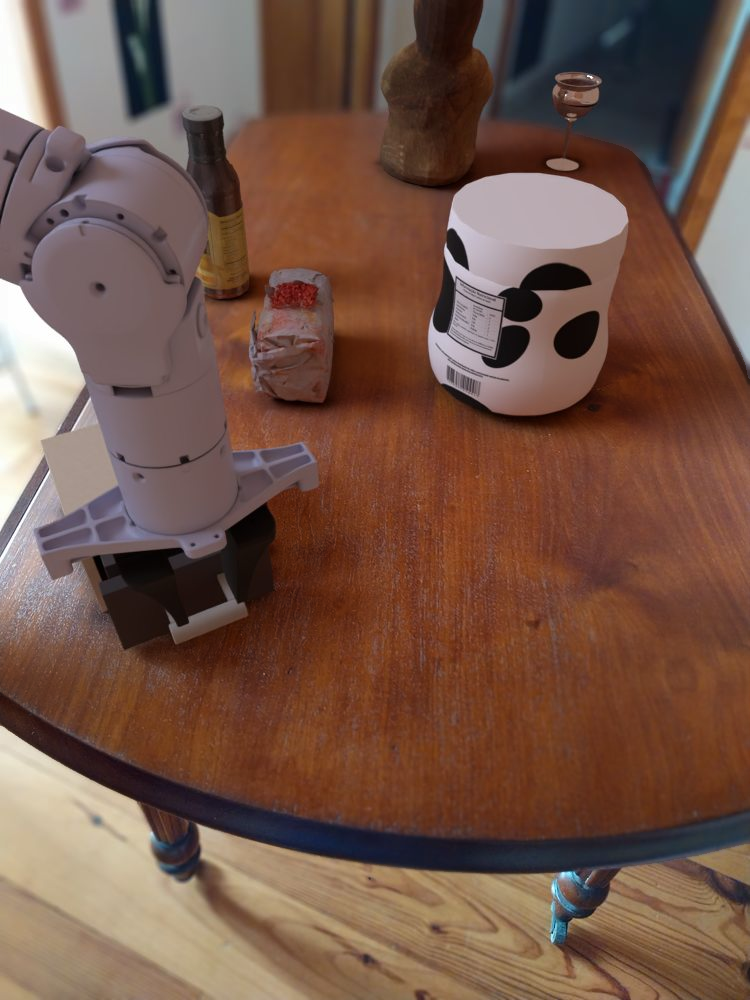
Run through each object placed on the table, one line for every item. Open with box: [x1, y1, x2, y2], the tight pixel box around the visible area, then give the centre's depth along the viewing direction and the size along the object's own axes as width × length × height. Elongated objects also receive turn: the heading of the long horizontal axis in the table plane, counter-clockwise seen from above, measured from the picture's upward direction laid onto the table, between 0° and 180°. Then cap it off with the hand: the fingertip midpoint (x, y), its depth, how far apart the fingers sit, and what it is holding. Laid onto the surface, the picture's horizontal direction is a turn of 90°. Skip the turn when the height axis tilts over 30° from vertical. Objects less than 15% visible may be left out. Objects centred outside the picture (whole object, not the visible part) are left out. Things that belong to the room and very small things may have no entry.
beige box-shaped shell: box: [39, 422, 118, 613], centre depth 59 cm, size 12×13×8 cm
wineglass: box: [546, 71, 602, 172], centre depth 112 cm, size 7×7×12 cm
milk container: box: [427, 172, 630, 418], centre depth 71 cm, size 17×17×18 cm
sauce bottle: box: [181, 104, 251, 300], centre depth 82 cm, size 7×6×20 cm
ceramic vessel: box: [379, 0, 495, 187], centre depth 102 cm, size 16×22×30 cm
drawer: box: [98, 545, 276, 651], centre depth 54 cm, size 14×11×6 cm
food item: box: [248, 267, 335, 404], centre depth 74 cm, size 14×8×10 cm, turn 1°
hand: (208, 601), depth 45 cm, fingers open, 3 cm apart
